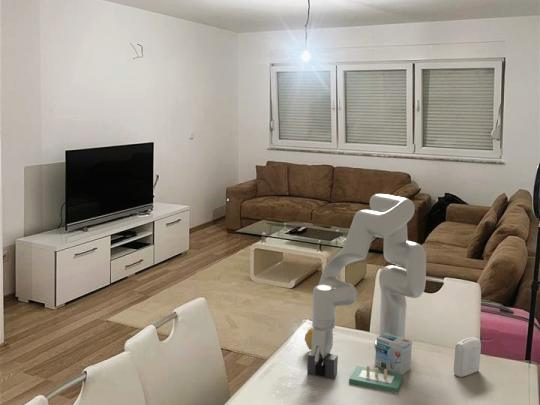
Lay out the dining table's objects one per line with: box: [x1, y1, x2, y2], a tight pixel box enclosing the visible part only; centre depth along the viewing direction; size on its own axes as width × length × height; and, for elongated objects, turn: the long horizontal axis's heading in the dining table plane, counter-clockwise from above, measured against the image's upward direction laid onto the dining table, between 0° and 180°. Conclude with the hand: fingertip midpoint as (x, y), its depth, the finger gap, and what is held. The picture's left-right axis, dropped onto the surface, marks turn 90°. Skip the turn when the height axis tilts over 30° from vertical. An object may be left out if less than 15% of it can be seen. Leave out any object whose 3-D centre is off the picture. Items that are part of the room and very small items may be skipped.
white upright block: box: [453, 336, 482, 378], centre depth 195 cm, size 10×4×12 cm, turn 123°
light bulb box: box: [374, 333, 413, 375], centre depth 199 cm, size 11×7×11 cm, turn 47°
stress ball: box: [304, 326, 314, 351], centre depth 211 cm, size 10×10×10 cm
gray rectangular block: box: [306, 351, 339, 380], centre depth 194 cm, size 4×9×7 cm, turn 66°
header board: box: [348, 365, 404, 394], centre depth 190 cm, size 10×16×5 cm, turn 66°
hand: (322, 371), depth 194 cm, fingers closed on gray rectangular block, 4 cm apart
